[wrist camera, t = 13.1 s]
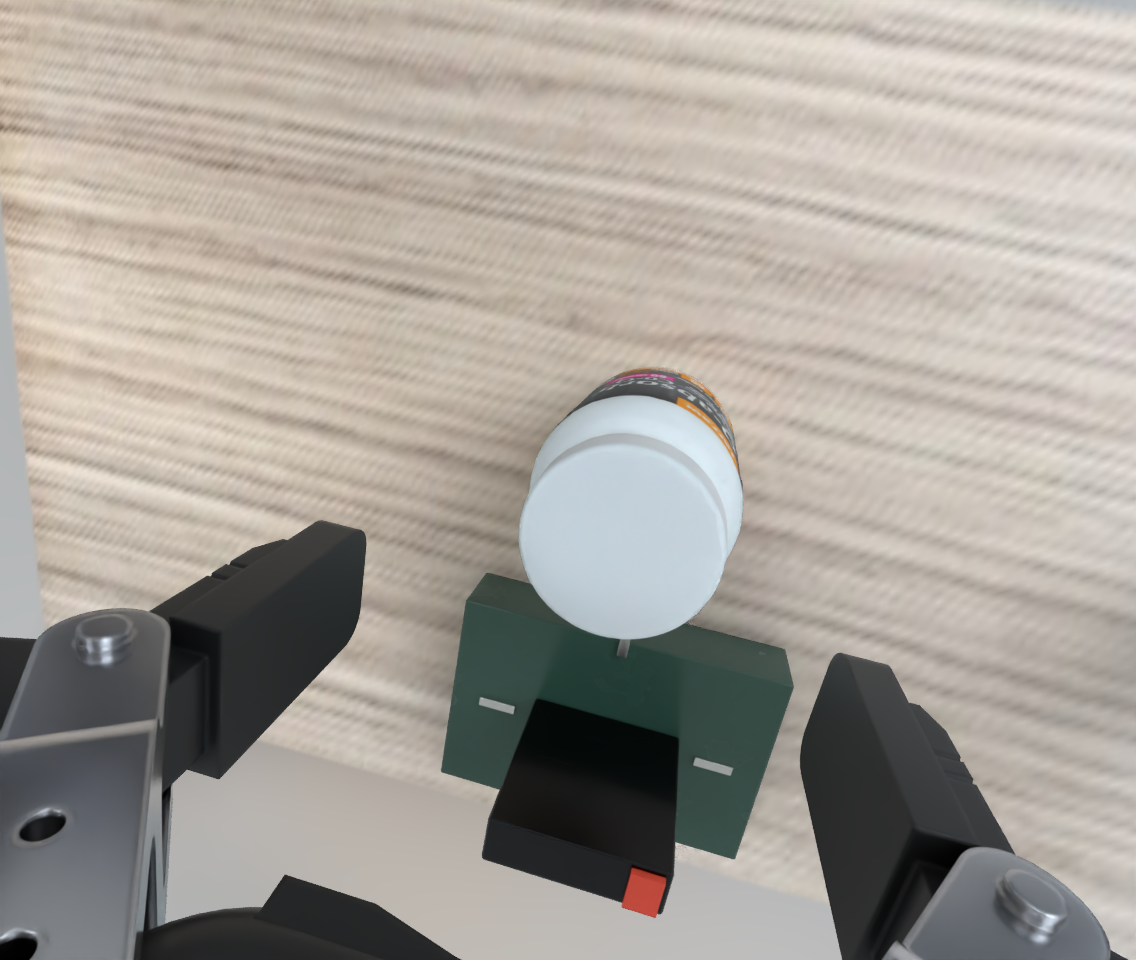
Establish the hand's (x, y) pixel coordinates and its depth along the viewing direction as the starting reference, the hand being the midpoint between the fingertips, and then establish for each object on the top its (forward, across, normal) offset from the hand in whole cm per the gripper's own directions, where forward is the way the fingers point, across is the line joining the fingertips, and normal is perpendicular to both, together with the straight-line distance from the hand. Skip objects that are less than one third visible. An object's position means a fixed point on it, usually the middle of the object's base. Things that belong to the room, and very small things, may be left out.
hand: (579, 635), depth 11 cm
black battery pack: (+11, -1, +11) cm, 15 cm away
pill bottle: (+14, 0, 0) cm, 14 cm away
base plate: (+14, -1, +11) cm, 17 cm away
